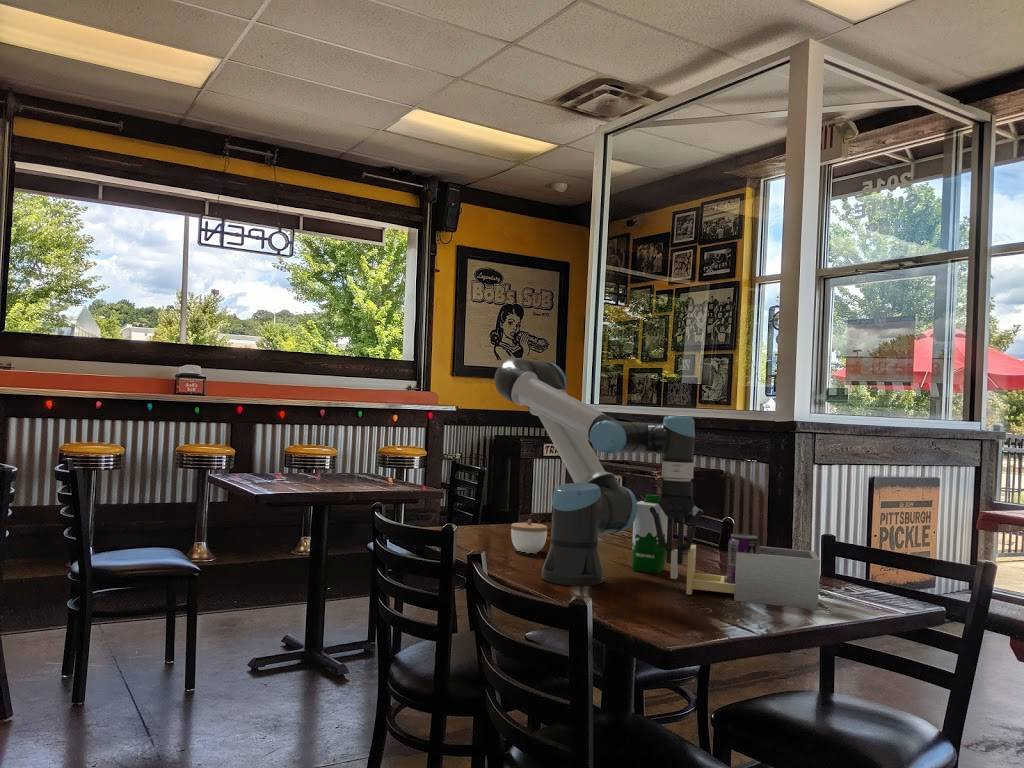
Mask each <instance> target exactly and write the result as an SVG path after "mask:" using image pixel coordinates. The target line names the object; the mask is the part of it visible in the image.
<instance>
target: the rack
mask: <svg viewBox="0 0 1024 768" xmlns="http://www.w3.org/2000/svg"><path fill="white" fill-rule="evenodd" d="M696 555H697V545H696V544H691V547H690V549H688V552H687V571H686V590H685V591H686V592H685V593H686V595H689V596H690V595H693V591H694V590H698V591H699V590H700V591H707V592H709V591H710V592H717V593H725V594H727V593H728V594H734V593H735V584H729V583H727V575H719V574H710V573H699V572H696V559H697V558H696Z"/></svg>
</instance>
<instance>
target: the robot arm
mask: <svg viewBox="0 0 1024 768" xmlns="http://www.w3.org/2000/svg"><path fill="white" fill-rule="evenodd" d="M567 381H568V380H567V377H566V374H565V373H564V371H563V369H561V367H560V366H558V365H557V364H555V363H552V362H549V361H546V360H532V359H525V358H519V357H514V358H510V359H507V360H505V361H503V362H502V363H501V364H500V365H499V366H498V367H497V369H496V370H495V374H494V385H495V388H496V391H497V392H498V394H500V396H501V397H502V398H504V399H506V400H508V401H510V402H511V403H514V404H515V405H517V406H526V407H527V408H528V412H529V413H530V414H531V415H533V416H537V417H538V418H539V420H540V422H541V424H542V425H543V427H544V429H545V431H546V432H547V434H548V437H549V438H550V441H552V444H553V445H554V448H555V450H556V452H557V453H558V454H559V455H558V456H559V457H560V458H561V460H562V462H563V464H564V465H565V469H566V470H567V472H568V474H569V475H570V477H571V480H572V482H570V483H564V484H561V485H558V486H557V487H555V489H554V490H553V496H552V501H551V508H552V509H551V525H550V526H551V528H550V529H551V530H550V544H549V546H550V547H549V550H548V552H547V555H546V557H545V560H544V562H543V566H542V568H541V579H543V580H544V581H546V582H550V583H553V584H559V585H565V586H575V587H576V586H578V587H579V586H580V587H584V586H597V585H601V584H602V583H604V570H603V566H602V562H601V561H602V560H601V559H600V555H599V550H598V547H599V546H598V545H599V543H598V542H599V535H602V534H603V535H604V534H617V533H619V532H622V531H623V532H624V531H625V530H627V529H629V528H630V527H631V526H633V522H634V520H635V518H636V513H637V502H638V501H637V498H636V496H635V494H634V493H633V492H632V490H630V489H629V488H627V487H625V486H622V485H620V484H619V482H618V480H617V478H616V476H615V475H614V473H612V472H608V471H606V470H605V469H604V467H603V465H602V464H601V462H600V460H599V458H598V456H597V454H596V453H595V451H594V449H595V450H596V451H598V452H600V453H606V454H617V453H619V454H626V453H627V454H629V453H630V454H632V453H633V454H639V453H640V454H658V455H661V456H662V462H661V463H662V464H661V465H662V466H661V477H662V480H661V487H660V490H661V491H660V496H661V498H660V500H659V503H658V504H657V505H655V506H652V507H651V508H650V512H651V513H652V515H653V517H654V522H655V526H656V531H657V536H658V541H659V546H660V547H663V548H665V549H666V556H665V561H666V562H665V563H666V564H670V579H674V580H677V579H678V575H679V574H678V572H679V565H682V564H683V562H684V551H686V550H689V549H690V547H691V545H693V540H694V535H695V533H696V529H697V526H698V522H699V519H700V518H701V517H702V516H703V514H704V510H703V509H701V508H698V507H697V506H696V504H695V501H694V500H693V498H694V497H693V496H694V494H693V493H694V490H693V489H694V482H693V481H692V480H693V479H694V470H695V469H694V466H695V465H694V464H695V463H694V455H695V454H694V453H695V437H696V433H695V431H696V429H695V420H694V418H693V417H691V416H681V415H679V416H677V415H666V416H664V417H663V421H662V423H653V422H639V421H637V422H635V421H633V422H631V421H619V420H616V419H615V418H613V417H611V416H609V415H607V414H605V413H603V412H601V411H600V410H598V409H596V408H594V407H593V406H591V405H588V404H586V403H584V402H582V401H580V400H578V399H577V398H575V397H573V396H571V395H569V394H568V393H567V386H566V385H567V384H568V382H567ZM590 443H591V444H590ZM591 445H592V446H591ZM593 448H594V449H593ZM660 507H661V509H662V510H663V512H664V513H665V515H666V516H667V517H668V519H667V521H668V522H667V543H666V542H665V540H664V535H663V530H662V525H661V520H660V516H659V513H660ZM691 511H692V516H693V518H692V520H691V521H692V522H691V524H690V528H689V530H688V531H689V532H688V535H687V539H686V543H684V540H685V539H684V538H685V537H684V536H685V518H686V517H687V516H688V515H689V513H690V512H691ZM675 518H676V519H677V521H678V524H677V527H678V528H677V548H676V549H673V547H674V546H673V544H674V543H673V542H674V541H673V540H674V520H675Z"/></svg>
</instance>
